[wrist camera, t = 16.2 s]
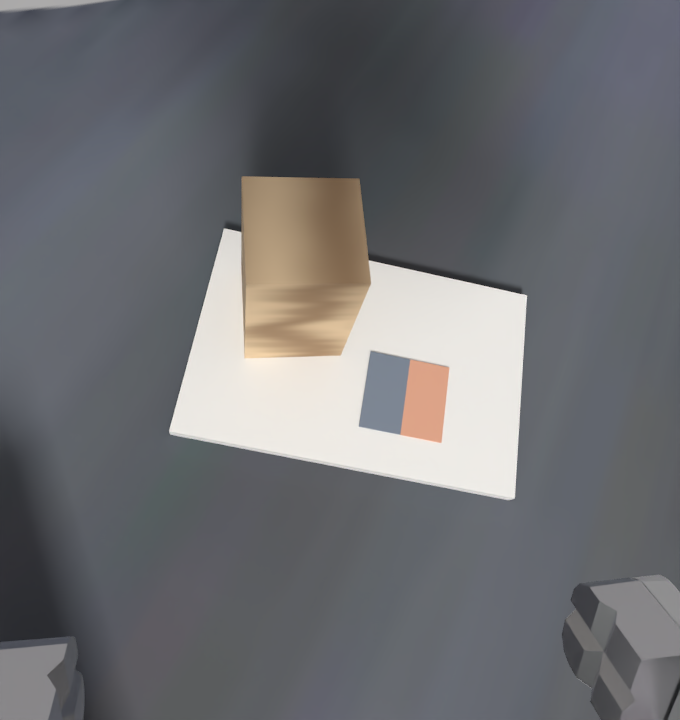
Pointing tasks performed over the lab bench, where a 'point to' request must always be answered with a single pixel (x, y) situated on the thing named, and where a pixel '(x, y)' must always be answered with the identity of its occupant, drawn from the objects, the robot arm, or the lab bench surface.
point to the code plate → (370, 382)
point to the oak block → (301, 265)
